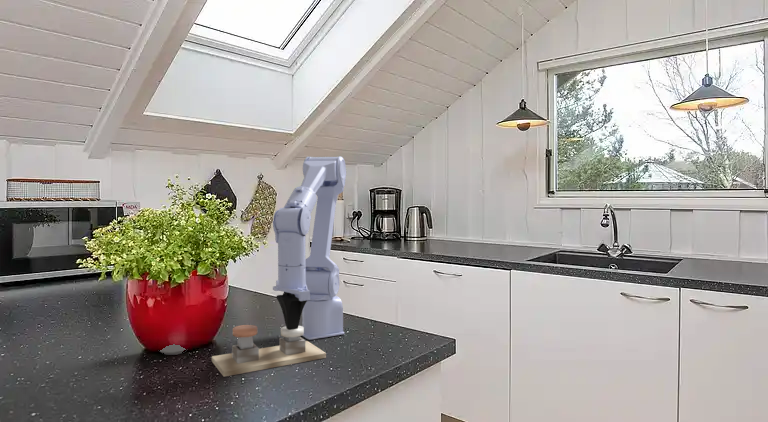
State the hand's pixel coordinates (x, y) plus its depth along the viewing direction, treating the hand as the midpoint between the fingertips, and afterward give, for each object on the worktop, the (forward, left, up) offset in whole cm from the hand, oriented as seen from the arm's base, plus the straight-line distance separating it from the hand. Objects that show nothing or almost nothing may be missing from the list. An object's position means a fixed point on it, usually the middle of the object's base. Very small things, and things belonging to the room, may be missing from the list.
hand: (292, 328), depth 107 cm
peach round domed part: (+10, 0, -2) cm, 10 cm away
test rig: (+5, 0, -6) cm, 8 cm away
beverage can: (+21, -16, -6) cm, 27 cm away
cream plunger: (0, 0, -4) cm, 4 cm away
